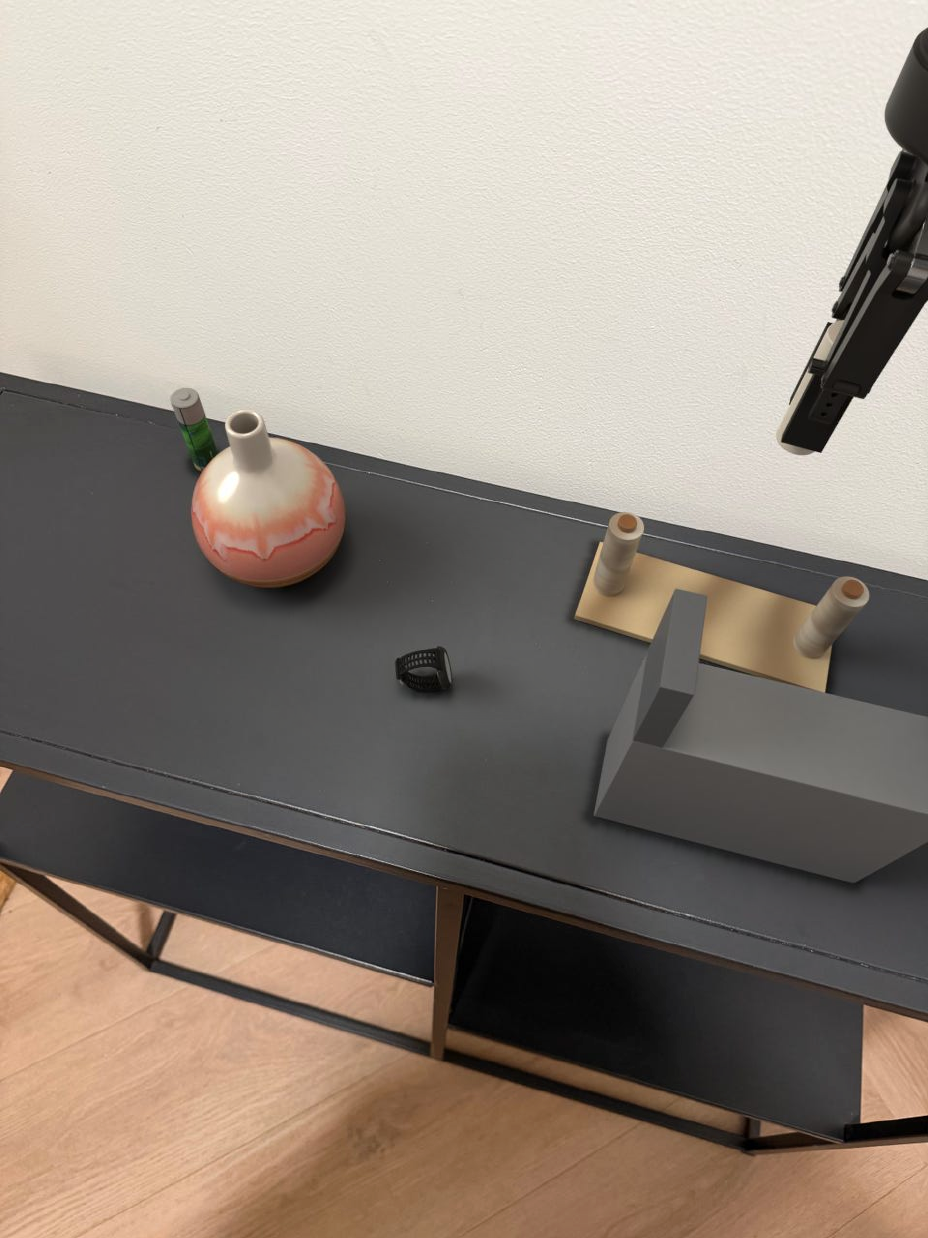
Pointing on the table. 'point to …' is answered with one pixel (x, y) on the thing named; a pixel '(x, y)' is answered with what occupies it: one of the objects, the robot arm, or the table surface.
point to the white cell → (820, 354)
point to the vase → (266, 507)
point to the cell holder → (718, 611)
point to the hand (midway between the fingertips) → (805, 424)
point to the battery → (194, 426)
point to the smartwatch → (437, 661)
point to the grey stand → (762, 762)
